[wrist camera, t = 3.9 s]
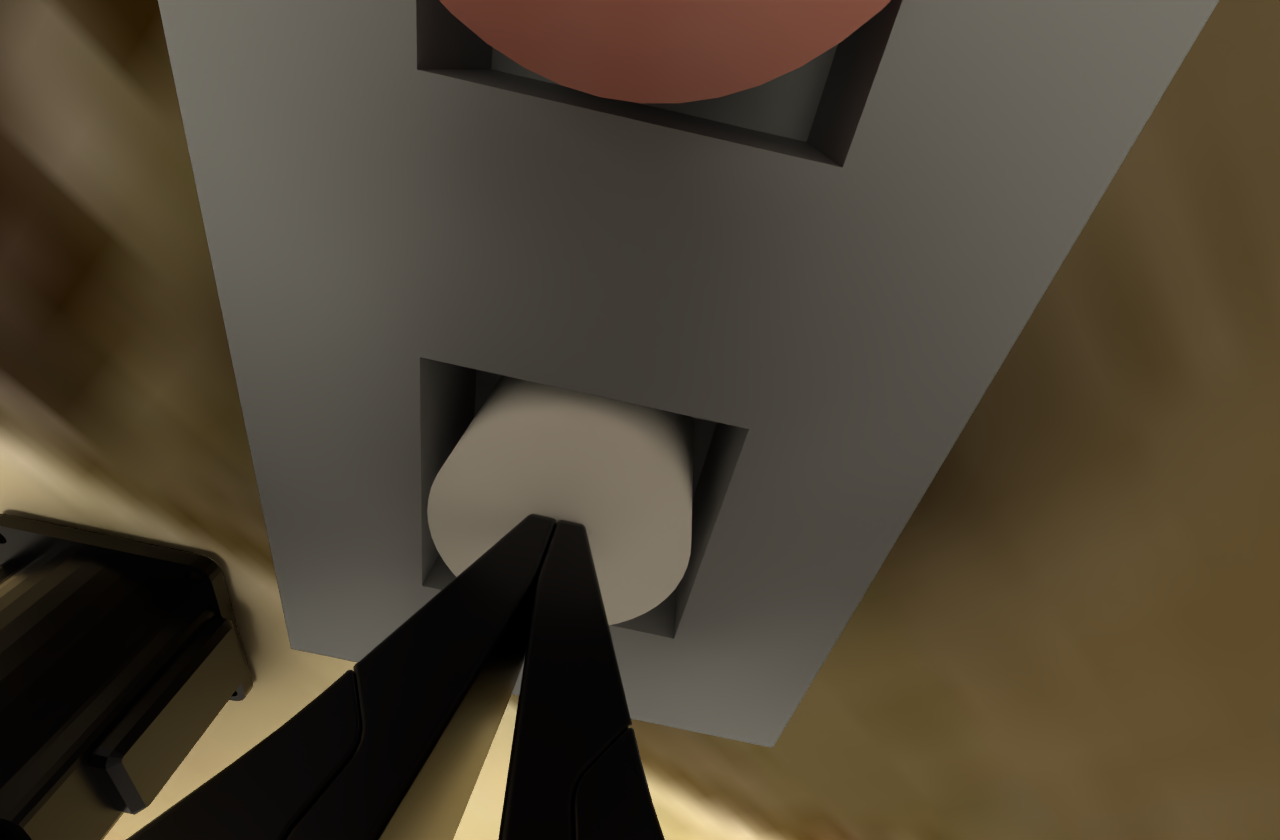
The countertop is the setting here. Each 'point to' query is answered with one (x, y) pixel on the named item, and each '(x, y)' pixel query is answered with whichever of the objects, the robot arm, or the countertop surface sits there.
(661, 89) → the button red middle
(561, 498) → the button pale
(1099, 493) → the countertop surface
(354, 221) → the button panel
